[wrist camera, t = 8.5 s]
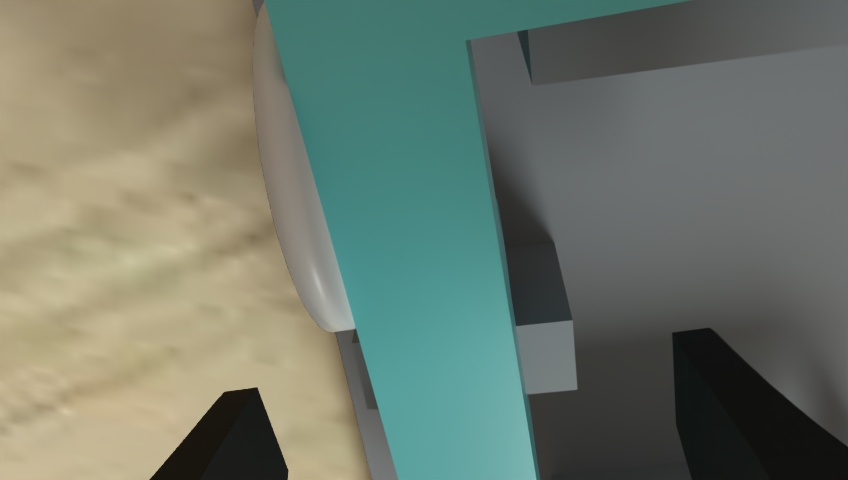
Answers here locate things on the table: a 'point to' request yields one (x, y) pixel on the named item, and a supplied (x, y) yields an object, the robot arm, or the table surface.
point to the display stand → (662, 219)
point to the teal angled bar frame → (404, 211)
